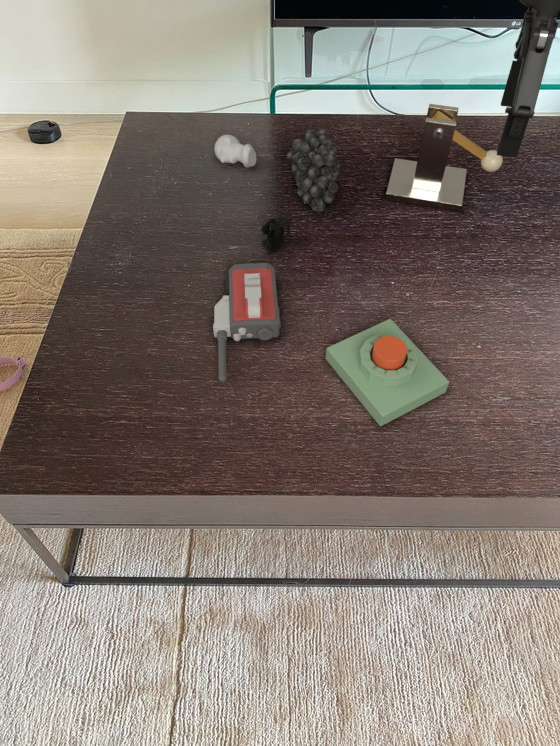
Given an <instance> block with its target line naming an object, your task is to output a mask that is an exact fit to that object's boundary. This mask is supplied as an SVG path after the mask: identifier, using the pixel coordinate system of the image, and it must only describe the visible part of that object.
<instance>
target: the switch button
mask: <svg viewBox="0 0 560 746" xmlns="http://www.w3.org/2000/svg"><path fill="white" fill-rule="evenodd" d="M406 354H407V347H406V344H405V343H404V342H403V341H402V340H401V339H399V338H397V337H394V336H383V337H381V338H379V339H378V340H377V341H376V342H375V343H374V347H373V352H372V359H373V361H374V363H375V364H376V365H377V366H378V367H380V368H382V369H385V370H395V369H398V368H400V367H401V366H402V365H403V364H404V362H405V358H406Z"/></svg>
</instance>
